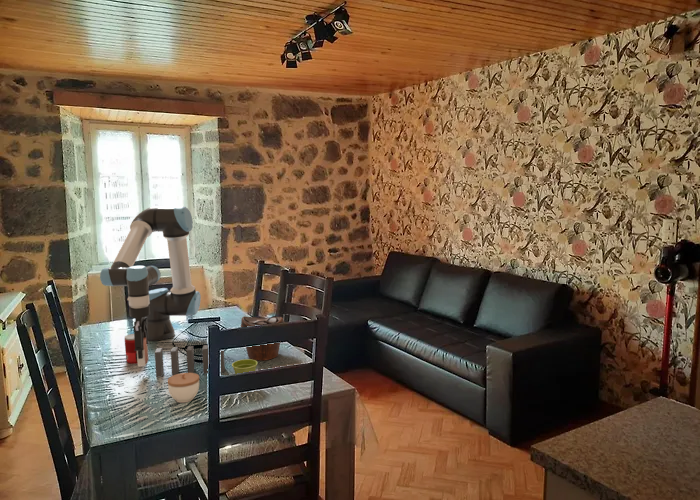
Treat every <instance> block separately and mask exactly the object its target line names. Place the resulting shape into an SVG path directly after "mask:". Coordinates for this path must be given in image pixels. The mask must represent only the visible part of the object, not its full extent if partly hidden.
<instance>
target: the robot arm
mask: <svg viewBox="0 0 700 500" xmlns="http://www.w3.org/2000/svg"><path fill="white" fill-rule="evenodd" d="M193 225H194V223H193V217H192V213H191V211H190V209H188V208H187V207H186V206H181V205H180V206H179V205H164V206H163V205H162V206H161V205H160V206H159V205H157V206H150V207H148V208H145V209H143V210H142V211H141V212H139V213H138V214H137V215H136V216H135V217H134V219H133V220H132V221H131V222H130V225H129V229H130V230H129V231H128V233H127V236H126V237H125V239H124V241H123V243H122V245H121V247H120V249H119V251H118V253H117V255H116V257H115V259H114V260H113V262H112V264H111V266H110V267H109V266H108V267H103V268H102V269H101V271H100V275H99V279H100V282H101V284H102V285H103V286H107V287H127V294H128V297H127V301H128V306H129V307H128V311H129V312H128V313H129V317H130V318H134V322H133V327H132V328H133V334H134V339H135V349H134V351H137V362H138V363H137V367H146V365H145V350H144V340H143V338H146V344H147V358H148V359H149V347H148V346H149V345H150V343H151V342H154V341H155V342H157V341H163V340H168V339H171V338H173V337H174V336H175V335H176V334H175V328H174V326H173V324H172V322H171V316H173V317H177V316H178V317H181V316H182V317H183V316H184V317H188V316H189V317H190V316H195V315H197V314H198V311H199V309H200V306H201V297H202V295H201V293H200V291H199V290H196V286H195V285H193V284H192V276H191V275H192V274H191V269H190V267H191V266H190V258H189V250H188V249H189V248H188V241H187V240H188V239H187V238H188V236H190V232H191V231H193ZM155 232H162V234H163V237H164V238H165V239H166V240H167V248H168V250H167V251H168V256H169V263H170V265H169V266H170V272H171V281H172V287H171V288H170V290H169V289H168V288H167V287H162V288H155V289H151V290H149V287H150V286H153V285H155V284H156V283H158V282H159V281H160V280H161V276H162V275H161V273H162V272H161V270H160V268H158V267H157V266H155V265H147V266H146V265H134V264H135V263H136V261H137V258H138V257H139V255H140V252H141V251H142V248H143V246H144V244H145V242H146V240H147V239H148V238H149V237H151V236H152V233H155ZM150 341H151V342H150Z"/></svg>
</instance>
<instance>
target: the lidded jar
mask: <svg viewBox="0 0 700 500" xmlns="http://www.w3.org/2000/svg"><path fill="white" fill-rule="evenodd" d="M167 385H168V386H167V387H168V391H169V392H168V393H169V394H170V396H171V398H172V399H174V400H175V401H176V402H177V403H189V402H191V401H192V400H194V398H196V396H197V394H198V393H199V390H200V389H199V388H200V375H199V374H198V373H195V372H194V373H188V372H181V373H178V374H176V375H173V376H172V375H171V376H170V377H168V378H167Z"/></svg>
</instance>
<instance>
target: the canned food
mask: <svg viewBox="0 0 700 500" xmlns="http://www.w3.org/2000/svg"><path fill="white" fill-rule="evenodd" d="M124 346H125V347H124V348H125V358H126V359H125V360H126V363H128V364H130V365H131V364H132V365H133V364H134V365H136V364H138V362H137V351H134V349H135V339H134V333H130V334H127V335H125V336H124Z"/></svg>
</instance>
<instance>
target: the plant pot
mask: <svg viewBox="0 0 700 500" xmlns="http://www.w3.org/2000/svg"><path fill="white" fill-rule="evenodd" d="M257 366H258V360H253V359H250V358H247V359H245V358H244V359H239V360H235V361H234V362H232V364H231V367H232V368H233V371H234V374H237V373H243V372H249V371H255V372H256V369H257Z"/></svg>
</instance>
